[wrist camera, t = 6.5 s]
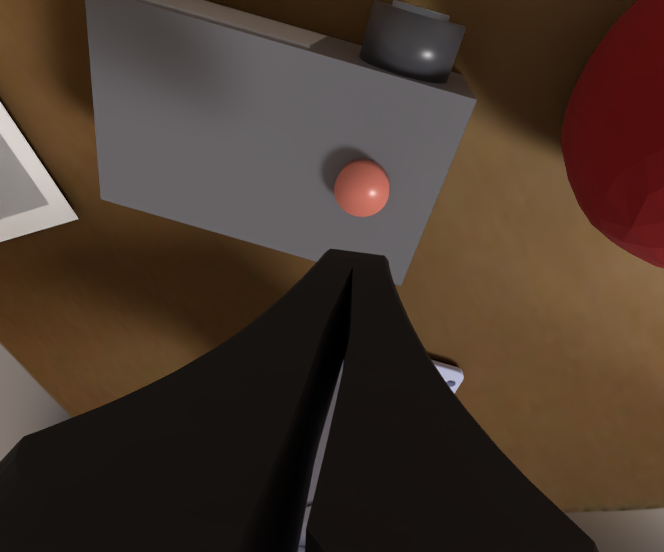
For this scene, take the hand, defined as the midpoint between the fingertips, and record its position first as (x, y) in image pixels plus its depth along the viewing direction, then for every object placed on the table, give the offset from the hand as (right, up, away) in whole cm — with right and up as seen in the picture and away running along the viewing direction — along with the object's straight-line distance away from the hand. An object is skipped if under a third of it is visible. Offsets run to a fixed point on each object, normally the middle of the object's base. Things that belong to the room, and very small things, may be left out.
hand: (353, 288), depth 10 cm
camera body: (-2, +7, +8) cm, 11 cm away
